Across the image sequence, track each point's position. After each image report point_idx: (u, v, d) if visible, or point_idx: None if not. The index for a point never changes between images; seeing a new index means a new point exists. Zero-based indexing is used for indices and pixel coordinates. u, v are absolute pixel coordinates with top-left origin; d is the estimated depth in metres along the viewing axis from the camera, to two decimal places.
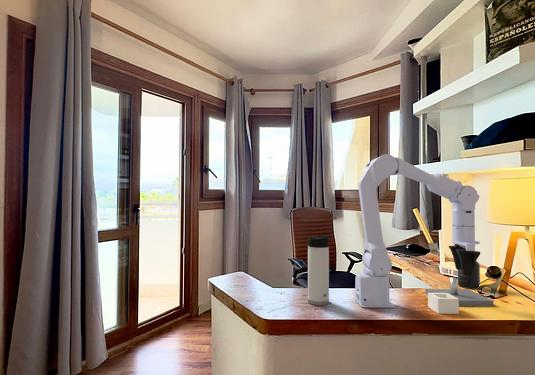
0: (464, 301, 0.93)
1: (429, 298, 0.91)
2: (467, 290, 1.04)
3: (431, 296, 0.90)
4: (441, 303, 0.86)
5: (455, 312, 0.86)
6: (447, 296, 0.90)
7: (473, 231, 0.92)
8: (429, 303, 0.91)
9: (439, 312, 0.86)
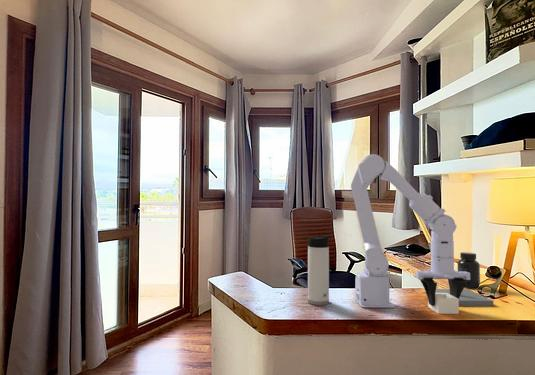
0: (464, 301, 0.93)
1: None
2: (467, 290, 1.04)
3: None
4: (441, 303, 0.86)
5: (455, 312, 0.86)
6: (447, 296, 0.90)
7: (440, 262, 0.88)
8: None
9: (439, 312, 0.86)
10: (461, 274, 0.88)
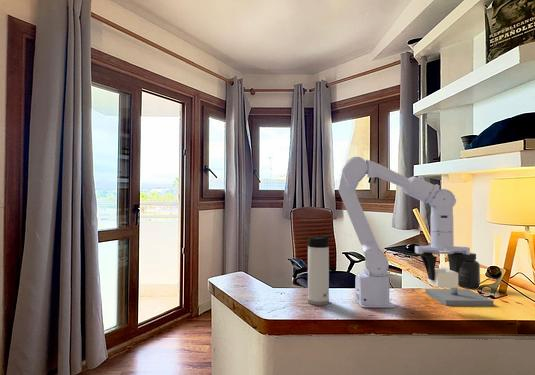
0: (464, 301, 0.93)
1: None
2: (467, 290, 1.04)
3: None
4: (440, 277, 0.87)
5: (454, 286, 0.87)
6: (447, 271, 0.90)
7: (439, 237, 0.88)
8: None
9: (438, 286, 0.87)
10: (461, 248, 0.88)
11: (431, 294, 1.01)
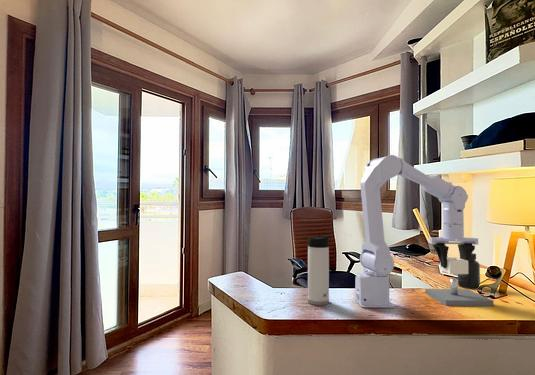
0: (464, 301, 0.93)
1: None
2: (467, 290, 1.04)
3: None
4: (452, 264, 0.97)
5: (465, 272, 0.97)
6: (457, 260, 1.00)
7: (451, 229, 0.98)
8: None
9: (451, 272, 0.97)
10: (470, 239, 0.98)
11: (431, 294, 1.01)
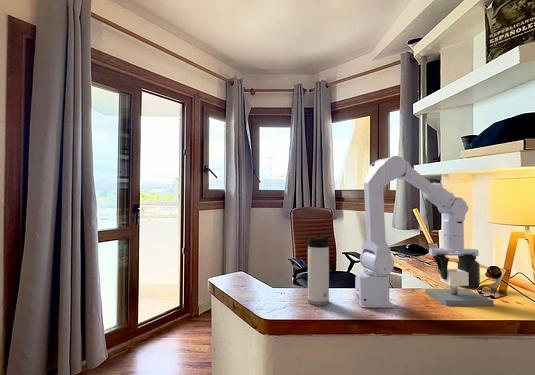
0: (464, 301, 0.93)
1: None
2: (467, 290, 1.04)
3: None
4: (453, 276, 0.97)
5: (465, 284, 0.96)
6: (458, 271, 1.00)
7: (451, 240, 0.98)
8: None
9: (451, 284, 0.96)
10: (470, 251, 0.98)
11: (431, 294, 1.01)
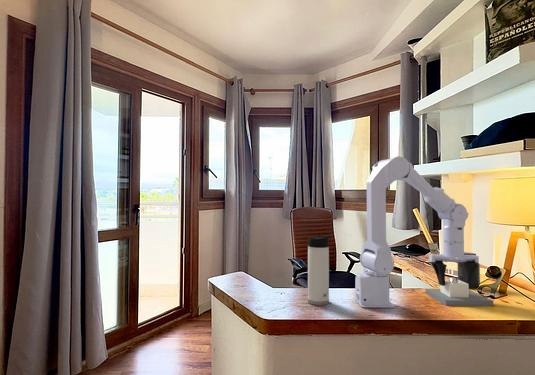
0: (464, 301, 0.93)
1: None
2: None
3: None
4: (453, 288, 0.96)
5: (465, 296, 0.96)
6: (458, 282, 1.00)
7: (451, 246, 0.98)
8: (441, 288, 1.01)
9: (451, 296, 0.96)
10: (470, 257, 0.98)
11: (431, 294, 1.01)
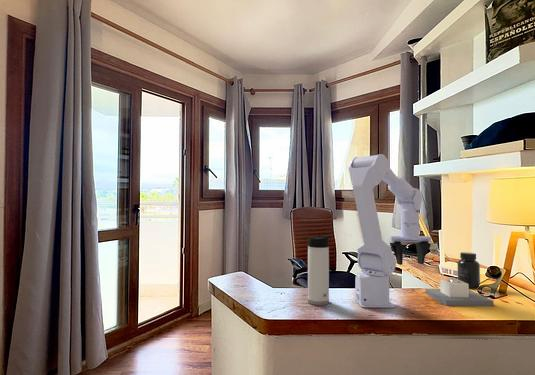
0: (464, 301, 0.93)
1: (441, 284, 1.01)
2: None
3: (443, 282, 1.00)
4: (453, 288, 0.96)
5: (465, 296, 0.96)
6: (458, 282, 1.00)
7: (408, 228, 1.05)
8: (441, 288, 1.01)
9: (451, 296, 0.96)
10: (424, 237, 1.06)
11: (431, 294, 1.01)
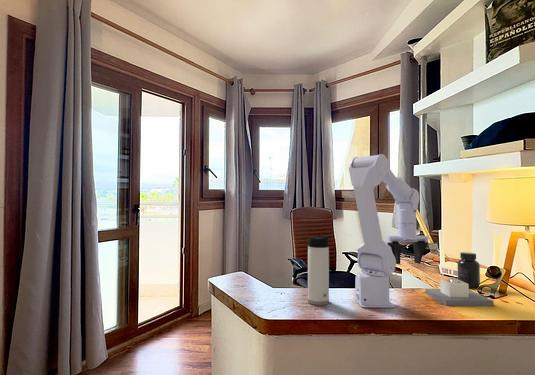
0: (464, 301, 0.93)
1: (441, 284, 1.01)
2: None
3: (443, 282, 1.00)
4: (453, 288, 0.96)
5: (465, 296, 0.96)
6: (458, 282, 1.00)
7: (406, 228, 1.06)
8: (441, 288, 1.01)
9: (451, 296, 0.96)
10: (421, 237, 1.07)
11: (431, 294, 1.01)
